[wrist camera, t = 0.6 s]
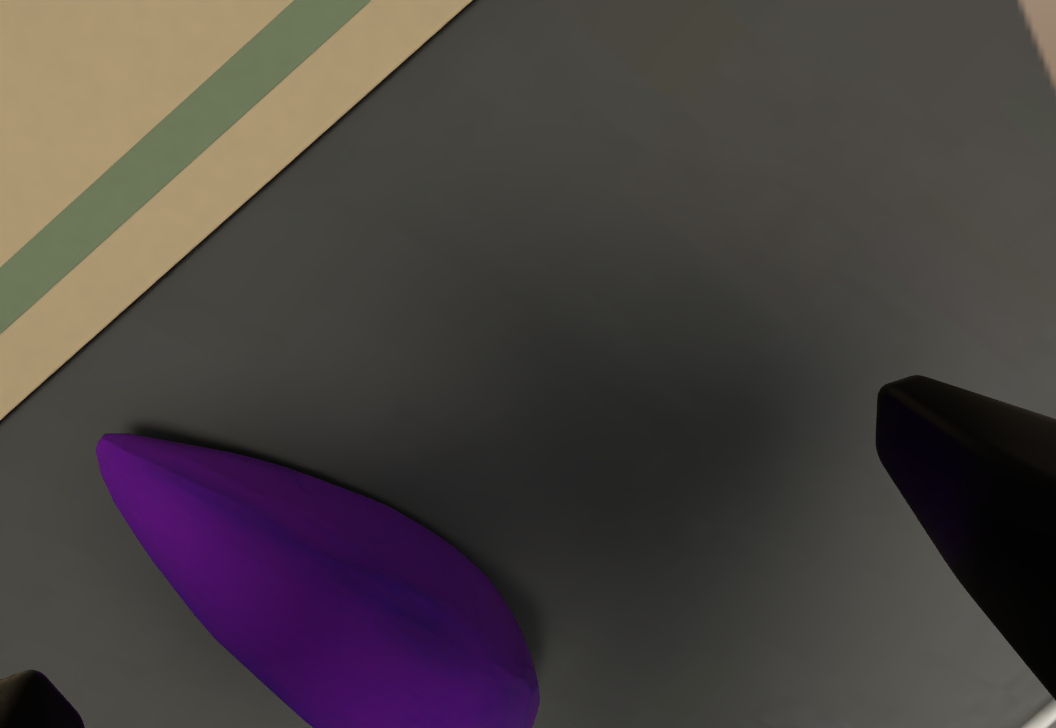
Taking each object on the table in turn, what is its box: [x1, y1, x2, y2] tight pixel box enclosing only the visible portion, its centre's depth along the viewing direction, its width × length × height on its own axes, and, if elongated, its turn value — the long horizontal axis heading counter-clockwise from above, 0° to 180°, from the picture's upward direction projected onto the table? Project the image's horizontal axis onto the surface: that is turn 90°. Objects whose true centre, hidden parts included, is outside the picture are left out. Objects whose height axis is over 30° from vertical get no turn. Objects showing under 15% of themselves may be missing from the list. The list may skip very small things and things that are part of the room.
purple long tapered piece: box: [96, 434, 540, 728], centre depth 23 cm, size 5×5×15 cm
